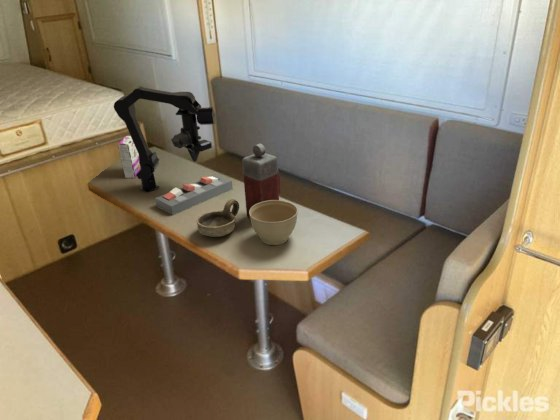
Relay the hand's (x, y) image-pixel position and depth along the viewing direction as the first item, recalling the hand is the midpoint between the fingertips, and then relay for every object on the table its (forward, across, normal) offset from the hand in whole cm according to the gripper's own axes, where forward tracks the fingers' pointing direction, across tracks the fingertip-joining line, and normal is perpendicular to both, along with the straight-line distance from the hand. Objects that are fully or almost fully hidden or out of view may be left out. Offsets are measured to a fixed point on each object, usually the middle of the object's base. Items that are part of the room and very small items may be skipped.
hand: (194, 161), depth 196 cm
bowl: (+12, +36, -17) cm, 42 cm away
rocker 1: (+8, +5, -16) cm, 18 cm away
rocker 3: (+8, +5, +2) cm, 10 cm away
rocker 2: (+8, +5, -6) cm, 12 cm away
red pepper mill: (+12, +39, +2) cm, 41 cm away
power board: (+12, +7, -6) cm, 15 cm away
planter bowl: (+12, +54, -8) cm, 56 cm away
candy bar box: (+12, -36, -10) cm, 39 cm away
